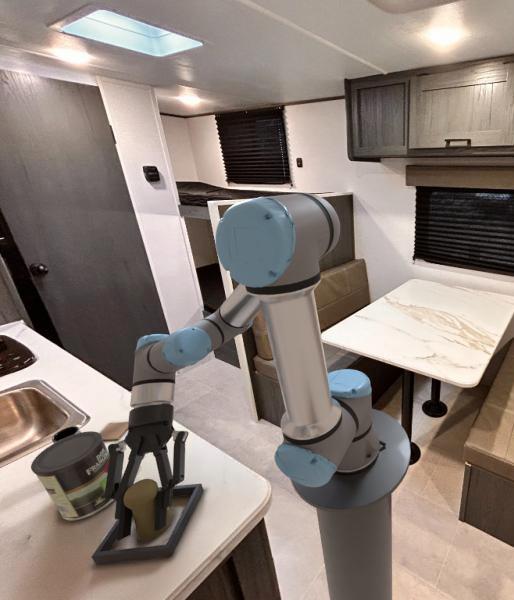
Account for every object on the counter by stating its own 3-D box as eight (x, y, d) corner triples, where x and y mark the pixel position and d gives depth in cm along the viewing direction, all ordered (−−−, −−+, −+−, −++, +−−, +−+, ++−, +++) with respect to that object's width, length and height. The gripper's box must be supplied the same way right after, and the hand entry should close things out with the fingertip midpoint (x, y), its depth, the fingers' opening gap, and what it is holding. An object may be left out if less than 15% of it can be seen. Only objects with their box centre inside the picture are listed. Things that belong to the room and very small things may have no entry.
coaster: (133, 422, 89) (132, 421, 89) (118, 439, 84) (117, 438, 84) (110, 424, 89) (109, 423, 88) (93, 441, 83) (93, 440, 83)
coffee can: (133, 471, 75) (112, 427, 69) (107, 514, 66) (81, 466, 60) (81, 481, 73) (55, 435, 67) (47, 526, 63) (14, 478, 58)
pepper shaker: (151, 545, 61) (132, 507, 56) (129, 534, 62) (109, 497, 58) (180, 514, 66) (165, 478, 61) (159, 505, 68) (143, 469, 63)
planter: (69, 477, 74) (50, 444, 70) (70, 464, 77) (52, 432, 73) (95, 465, 76) (78, 433, 72) (95, 453, 79) (78, 423, 75)
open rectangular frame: (204, 491, 71) (201, 483, 70) (171, 556, 59) (167, 548, 58) (142, 496, 69) (138, 489, 68) (96, 565, 57) (91, 556, 56)
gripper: (206, 400, 73) (203, 515, 65) (113, 415, 69) (97, 541, 60) (193, 397, 66) (188, 524, 58) (89, 413, 62) (68, 555, 54)
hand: (142, 532), depth 59 cm, fingers closed on pepper shaker, 5 cm apart
